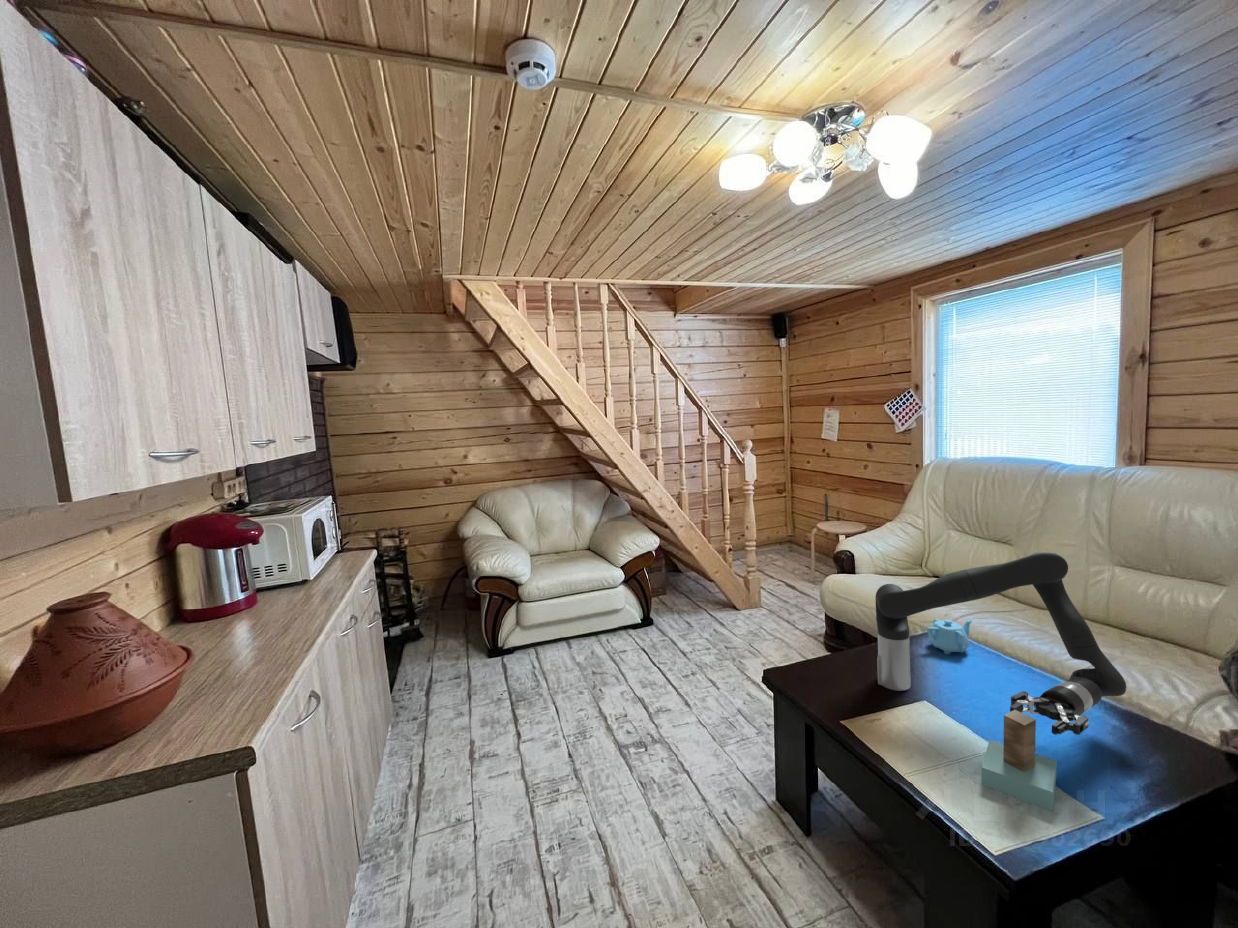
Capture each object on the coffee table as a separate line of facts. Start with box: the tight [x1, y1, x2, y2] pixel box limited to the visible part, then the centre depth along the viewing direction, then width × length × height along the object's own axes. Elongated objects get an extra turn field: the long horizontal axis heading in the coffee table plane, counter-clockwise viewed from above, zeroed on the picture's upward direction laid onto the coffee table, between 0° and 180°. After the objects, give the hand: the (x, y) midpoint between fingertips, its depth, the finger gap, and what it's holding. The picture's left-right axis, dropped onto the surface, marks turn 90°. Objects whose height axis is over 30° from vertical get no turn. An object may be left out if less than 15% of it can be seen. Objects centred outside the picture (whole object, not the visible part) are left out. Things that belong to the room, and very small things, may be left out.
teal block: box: [981, 739, 1057, 812], centre depth 120 cm, size 13×13×5 cm
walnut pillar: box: [1003, 710, 1037, 772], centre depth 119 cm, size 4×4×12 cm
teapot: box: [926, 618, 974, 655], centre depth 185 cm, size 13×14×11 cm
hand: (1032, 720), depth 121 cm, fingers open, 8 cm apart
